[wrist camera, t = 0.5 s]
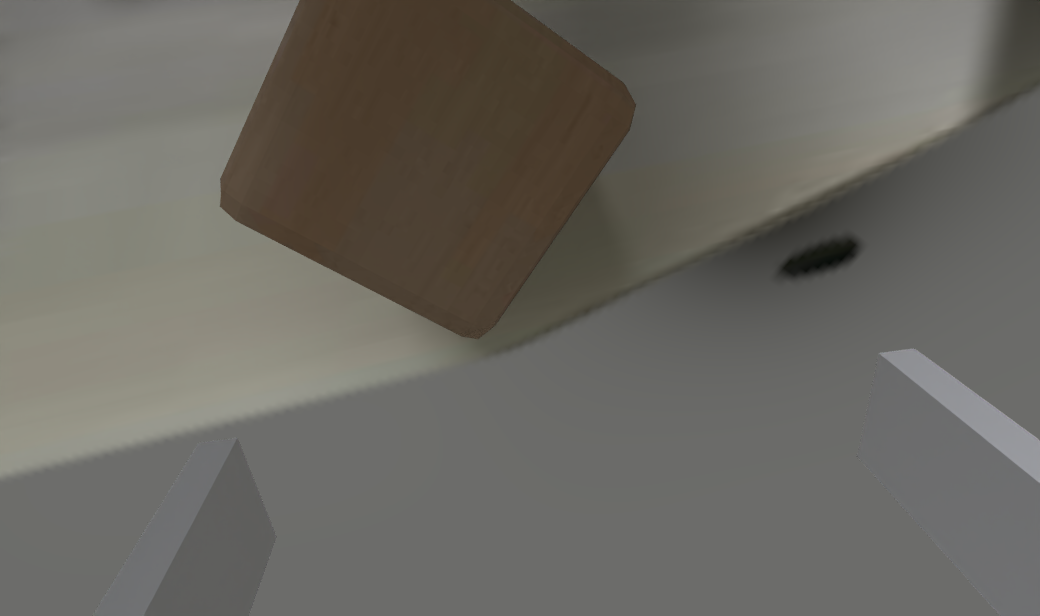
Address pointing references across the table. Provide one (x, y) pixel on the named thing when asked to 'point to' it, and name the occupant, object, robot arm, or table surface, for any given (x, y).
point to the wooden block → (424, 148)
